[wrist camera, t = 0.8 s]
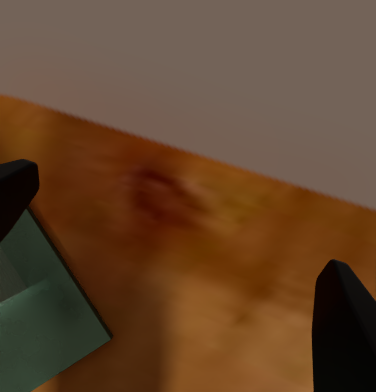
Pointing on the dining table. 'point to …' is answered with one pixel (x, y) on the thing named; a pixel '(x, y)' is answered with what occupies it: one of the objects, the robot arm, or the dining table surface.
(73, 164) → the dining table surface
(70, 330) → the base
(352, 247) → the dining table surface
